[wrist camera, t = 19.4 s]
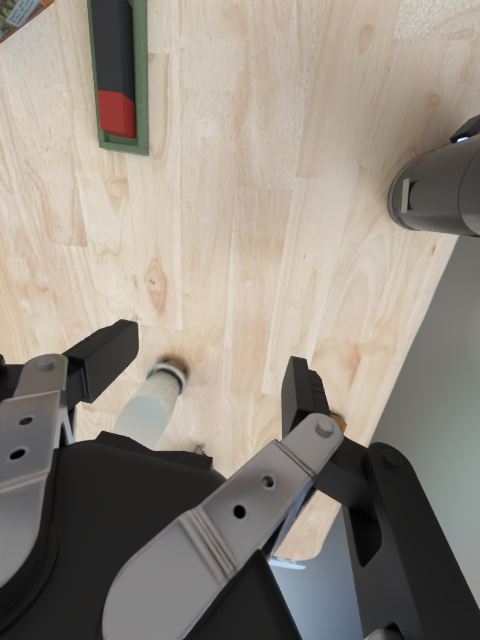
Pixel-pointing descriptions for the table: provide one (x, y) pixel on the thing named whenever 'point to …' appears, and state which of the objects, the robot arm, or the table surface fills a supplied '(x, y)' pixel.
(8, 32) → the milk carton
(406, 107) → the table surface
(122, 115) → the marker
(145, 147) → the tray
